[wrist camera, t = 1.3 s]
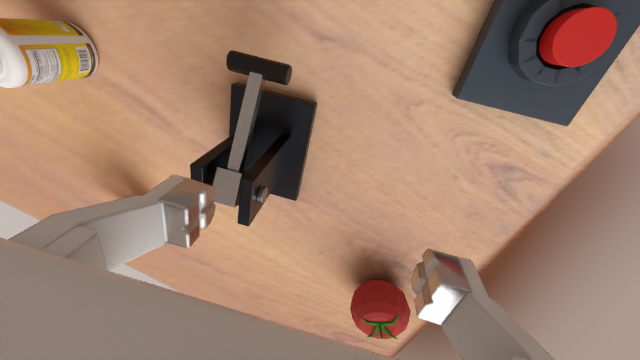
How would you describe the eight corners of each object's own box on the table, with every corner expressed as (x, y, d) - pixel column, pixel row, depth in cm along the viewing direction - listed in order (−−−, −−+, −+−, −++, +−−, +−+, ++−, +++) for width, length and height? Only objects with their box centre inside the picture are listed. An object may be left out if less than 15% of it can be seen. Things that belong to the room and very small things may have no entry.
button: (558, 3, 19) (575, 0, 17) (610, 15, 19) (631, 14, 17) (528, 58, 20) (540, 60, 19) (575, 69, 20) (591, 72, 19)
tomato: (418, 292, 38) (428, 346, 32) (377, 312, 42) (379, 364, 35) (380, 260, 37) (382, 309, 30) (341, 284, 40) (335, 333, 34)
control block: (526, -70, 19) (554, -89, 16) (664, -38, 19) (720, -52, 16) (451, 94, 25) (462, 102, 22) (556, 121, 25) (581, 132, 22)
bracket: (236, 82, 28) (160, 108, 18) (317, 103, 28) (286, 142, 18) (231, 177, 34) (172, 237, 24) (298, 196, 34) (267, 265, 24)
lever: (238, 56, 23) (226, 44, 20) (293, 70, 23) (288, 60, 20) (206, 192, 24) (192, 195, 21) (259, 207, 24) (250, 212, 21)
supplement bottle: (44, 31, 29) (-99, 29, 20) (78, 13, 28) (-60, 2, 19) (77, 83, 32) (-37, 101, 23) (111, 68, 30) (2, 82, 21)
